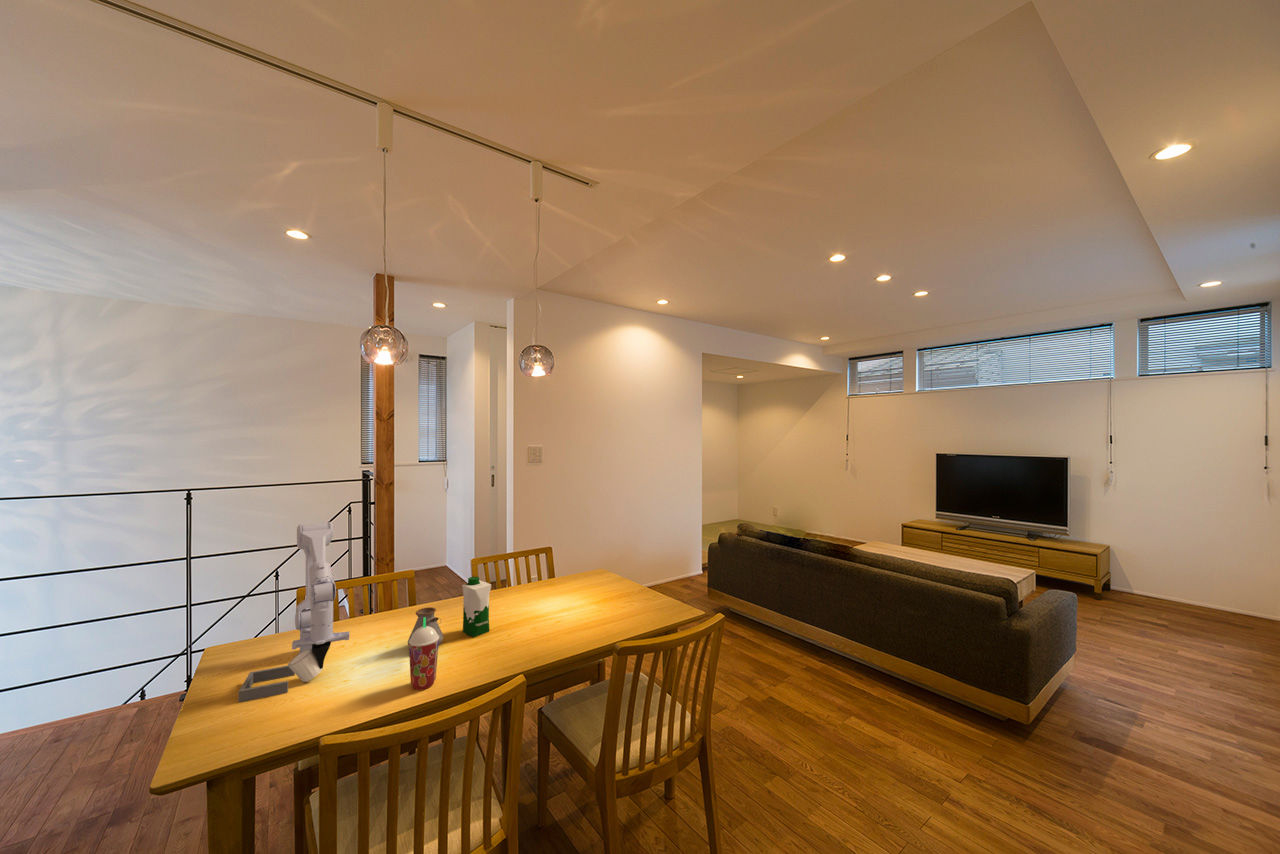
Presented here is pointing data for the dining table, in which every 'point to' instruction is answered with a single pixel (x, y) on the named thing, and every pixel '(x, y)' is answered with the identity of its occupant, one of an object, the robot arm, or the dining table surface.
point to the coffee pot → (427, 621)
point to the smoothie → (423, 656)
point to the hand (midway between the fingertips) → (321, 667)
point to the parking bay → (265, 690)
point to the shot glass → (305, 665)
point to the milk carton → (476, 607)
